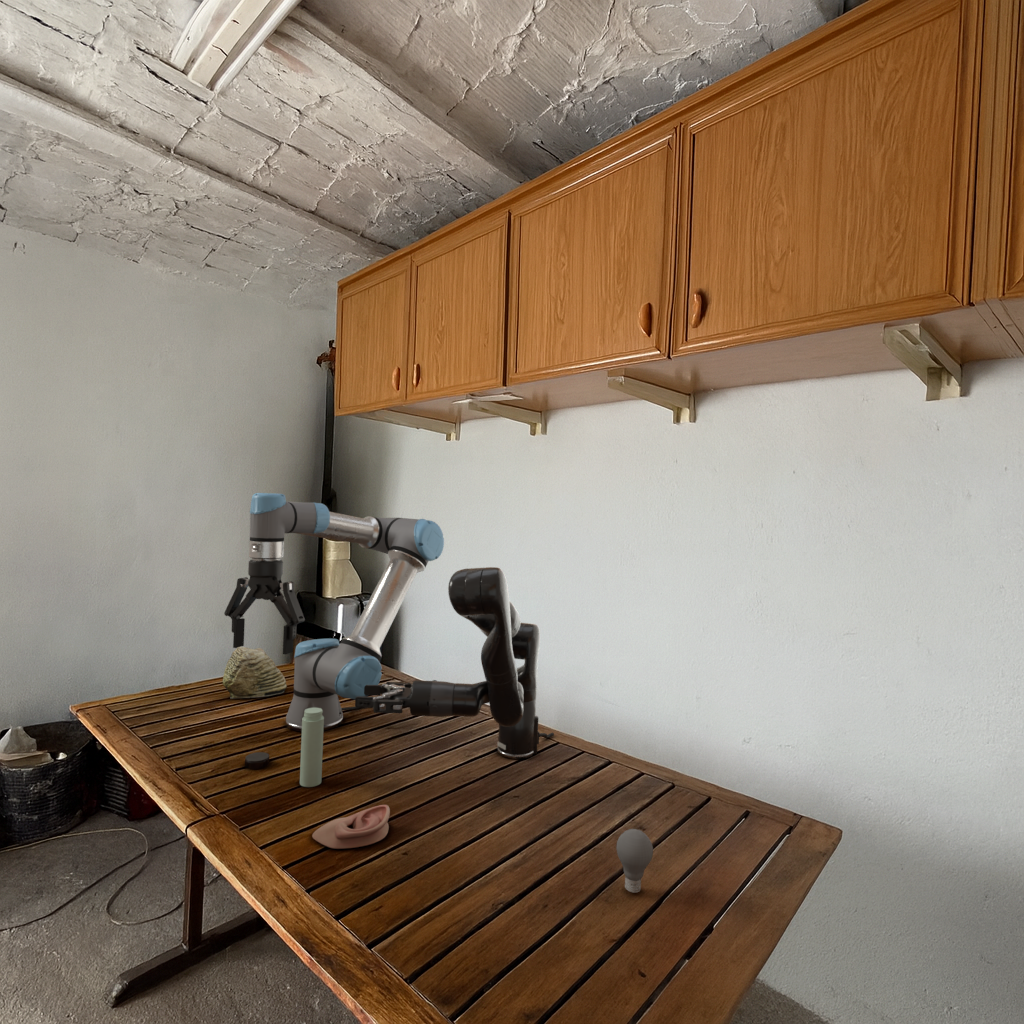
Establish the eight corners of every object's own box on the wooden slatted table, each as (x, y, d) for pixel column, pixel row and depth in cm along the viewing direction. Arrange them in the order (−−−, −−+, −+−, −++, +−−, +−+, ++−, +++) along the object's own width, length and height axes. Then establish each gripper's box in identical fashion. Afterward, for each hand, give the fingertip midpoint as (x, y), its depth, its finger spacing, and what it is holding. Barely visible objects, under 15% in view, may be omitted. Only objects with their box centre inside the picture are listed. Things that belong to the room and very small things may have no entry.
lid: (249, 759, 150) (249, 751, 150) (272, 760, 151) (272, 752, 151) (241, 769, 145) (241, 761, 145) (265, 769, 146) (265, 761, 145)
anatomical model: (304, 822, 115) (334, 794, 126) (303, 844, 115) (333, 813, 126) (372, 833, 112) (397, 803, 124) (371, 855, 113) (396, 823, 124)
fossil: (218, 695, 195) (220, 647, 195) (278, 685, 208) (279, 640, 207) (228, 703, 189) (230, 653, 188) (289, 692, 201) (290, 645, 201)
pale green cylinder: (314, 788, 137) (317, 714, 137) (295, 785, 138) (298, 712, 138) (325, 779, 142) (328, 708, 142) (306, 776, 143) (309, 705, 143)
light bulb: (610, 879, 108) (613, 822, 108) (644, 879, 109) (647, 822, 109) (619, 902, 102) (622, 840, 102) (655, 901, 103) (658, 840, 103)
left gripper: (210, 556, 147) (206, 647, 148) (302, 564, 140) (299, 659, 141) (232, 554, 155) (229, 641, 155) (322, 561, 147) (318, 652, 148)
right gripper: (437, 672, 147) (367, 670, 147) (430, 691, 133) (352, 688, 133) (436, 705, 147) (366, 702, 147) (428, 726, 133) (351, 723, 133)
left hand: (262, 650), depth 148 cm, fingers open, 13 cm apart
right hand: (360, 695), depth 140 cm, fingers open, 8 cm apart
